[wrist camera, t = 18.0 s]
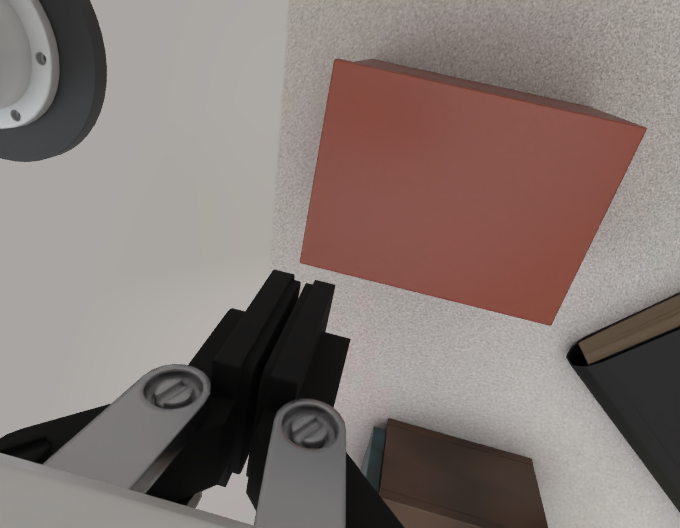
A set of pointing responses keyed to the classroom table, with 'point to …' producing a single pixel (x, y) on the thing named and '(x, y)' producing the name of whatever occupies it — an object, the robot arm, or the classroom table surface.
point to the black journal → (640, 385)
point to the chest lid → (460, 190)
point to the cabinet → (456, 482)
